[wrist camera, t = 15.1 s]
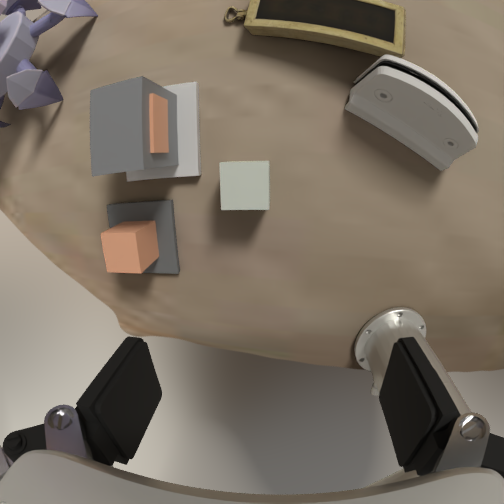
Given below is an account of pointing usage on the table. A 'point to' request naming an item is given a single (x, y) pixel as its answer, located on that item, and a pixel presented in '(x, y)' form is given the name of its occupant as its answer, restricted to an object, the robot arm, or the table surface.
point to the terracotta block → (130, 246)
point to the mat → (164, 227)
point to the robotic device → (30, 50)
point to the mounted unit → (145, 129)
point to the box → (330, 23)
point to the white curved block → (414, 110)
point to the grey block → (245, 185)
